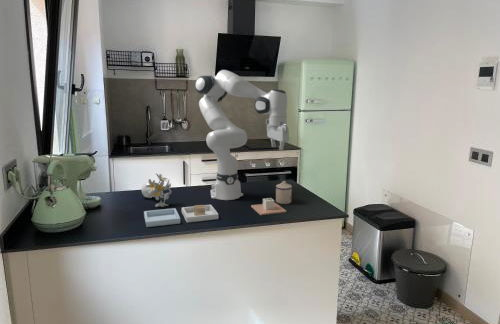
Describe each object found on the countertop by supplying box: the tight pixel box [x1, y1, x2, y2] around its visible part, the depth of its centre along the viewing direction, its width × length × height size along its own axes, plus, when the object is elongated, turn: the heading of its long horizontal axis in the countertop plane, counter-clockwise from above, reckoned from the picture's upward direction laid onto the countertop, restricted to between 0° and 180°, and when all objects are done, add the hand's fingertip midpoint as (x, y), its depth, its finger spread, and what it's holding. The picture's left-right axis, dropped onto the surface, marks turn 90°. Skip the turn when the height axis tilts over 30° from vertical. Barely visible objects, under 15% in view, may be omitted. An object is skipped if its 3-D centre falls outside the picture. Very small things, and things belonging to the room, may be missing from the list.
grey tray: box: [181, 204, 219, 223], centre depth 179 cm, size 15×15×3 cm
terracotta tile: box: [250, 202, 287, 216], centre depth 191 cm, size 14×14×1 cm
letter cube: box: [262, 197, 275, 210], centre depth 190 cm, size 4×4×5 cm
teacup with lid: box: [275, 180, 293, 205], centre depth 204 cm, size 12×9×12 cm
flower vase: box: [141, 173, 173, 208], centre depth 201 cm, size 13×18×25 cm
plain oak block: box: [193, 204, 205, 216], centre depth 179 cm, size 4×4×4 cm
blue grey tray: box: [143, 207, 181, 228], centre depth 173 cm, size 15×15×3 cm
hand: (277, 148), depth 190 cm, fingers open, 8 cm apart
